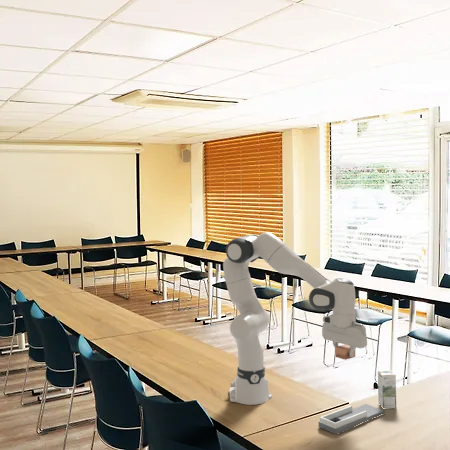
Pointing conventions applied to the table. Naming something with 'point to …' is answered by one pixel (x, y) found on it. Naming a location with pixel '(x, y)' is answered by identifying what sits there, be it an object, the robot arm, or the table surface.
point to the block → (343, 352)
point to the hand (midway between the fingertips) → (344, 354)
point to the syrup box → (387, 389)
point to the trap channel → (348, 418)
